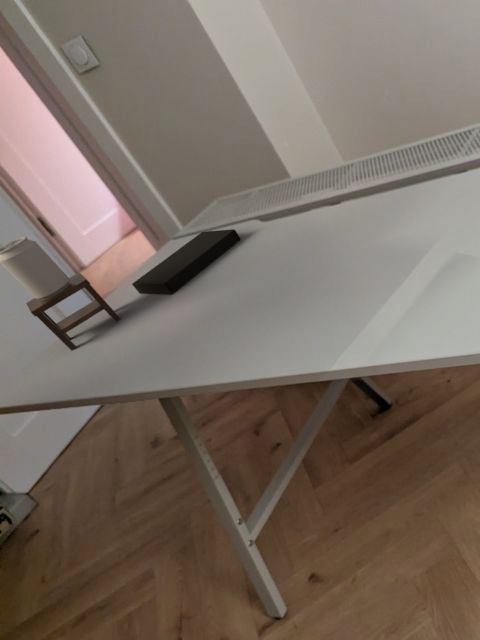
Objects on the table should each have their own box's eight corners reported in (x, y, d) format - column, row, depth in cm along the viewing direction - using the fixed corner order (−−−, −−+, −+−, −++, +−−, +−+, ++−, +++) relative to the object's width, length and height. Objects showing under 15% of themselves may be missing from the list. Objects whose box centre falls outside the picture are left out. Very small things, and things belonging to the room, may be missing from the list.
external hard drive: (139, 293, 131) (131, 283, 129) (208, 241, 145) (201, 231, 143) (172, 294, 123) (163, 283, 121) (241, 239, 137) (234, 229, 135)
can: (55, 298, 112) (8, 249, 105) (30, 304, 115) (-17, 257, 107) (79, 278, 118) (36, 230, 110) (56, 284, 120) (12, 238, 113)
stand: (70, 351, 117) (30, 312, 111) (64, 340, 123) (25, 303, 117) (122, 318, 122) (86, 279, 116) (113, 310, 128) (79, 272, 122)
